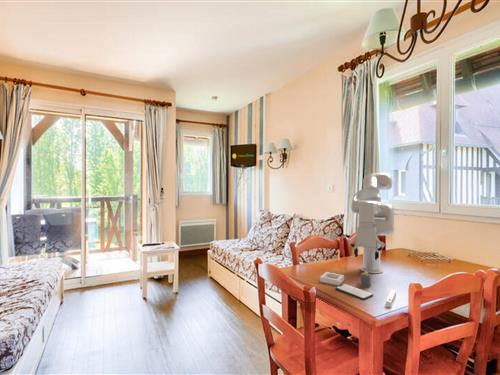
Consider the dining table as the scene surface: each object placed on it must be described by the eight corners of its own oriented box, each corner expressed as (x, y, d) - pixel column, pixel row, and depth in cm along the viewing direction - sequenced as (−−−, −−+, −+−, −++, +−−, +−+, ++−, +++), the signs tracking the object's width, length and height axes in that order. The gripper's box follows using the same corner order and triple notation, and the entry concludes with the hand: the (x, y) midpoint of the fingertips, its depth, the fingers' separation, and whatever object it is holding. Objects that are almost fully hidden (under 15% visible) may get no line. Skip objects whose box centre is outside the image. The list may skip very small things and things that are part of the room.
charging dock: (391, 294, 132) (391, 288, 132) (396, 295, 131) (396, 289, 131) (385, 306, 119) (385, 300, 119) (391, 307, 118) (391, 301, 118)
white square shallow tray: (326, 277, 156) (326, 271, 156) (344, 280, 151) (344, 275, 151) (319, 282, 148) (319, 276, 148) (338, 286, 142) (338, 280, 142)
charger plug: (362, 283, 146) (362, 270, 146) (371, 285, 144) (371, 271, 144) (360, 286, 143) (360, 272, 143) (369, 288, 140) (369, 273, 140)
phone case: (374, 297, 130) (345, 286, 143) (374, 294, 130) (345, 283, 143) (363, 302, 125) (334, 290, 138) (363, 298, 125) (334, 287, 138)
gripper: (386, 225, 141) (385, 259, 141) (351, 222, 151) (350, 254, 151) (383, 227, 135) (383, 262, 135) (347, 224, 145) (347, 256, 145)
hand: (366, 258), depth 143 cm, fingers open, 9 cm apart
